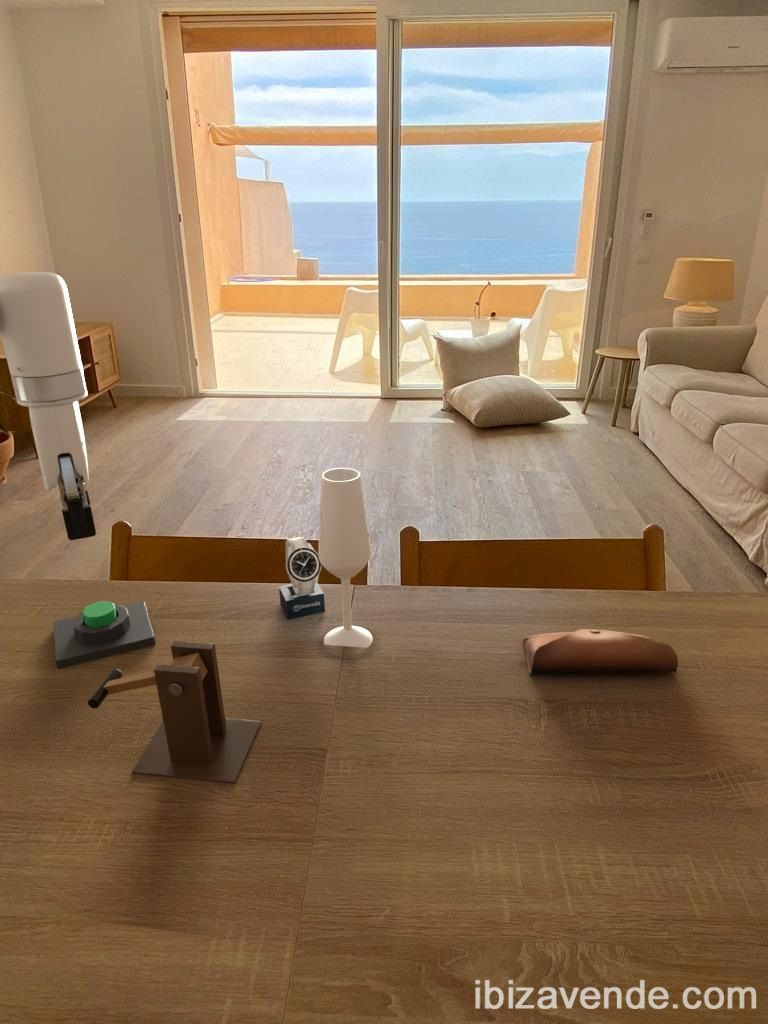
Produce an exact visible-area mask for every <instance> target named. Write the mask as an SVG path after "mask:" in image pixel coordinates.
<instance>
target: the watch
mask: <svg viewBox="0 0 768 1024" xmlns="http://www.w3.org/2000/svg"><path fill="white" fill-rule="evenodd" d="M284 557H285V569H286V574H287V575H288V579H289V581H290V583H289V584H284V585H280V586H278V591H279V592H278V593H279V604H280V607H281V609H282V611H283V613H284V615H285V618H286V619H287V620H288V621H289V620H294V619H298V618H302V617H306V616H312V615H316V614H320V613H325V612H326V607H325V605H326V604H325V592H323V589H322V588H321V586H320V585H319V583H318V582H319V577H320V573H321V571H322V564H321V562H320V561H319V558H318V551H316V550H315V549H314V547H313V546H312V544H311V543H310V542H309V543H308V541H307V540H306V538H305V537H304V536H300V537H294V538H287V539H286V540H285V555H284Z"/></svg>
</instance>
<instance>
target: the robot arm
mask: <svg viewBox="0 0 768 1024" xmlns="http://www.w3.org/2000/svg"><path fill="white" fill-rule="evenodd" d="M70 301H71V300H70V297H69V291H68V287H67V284H66V282H65V280H64V279H63V278H62V277H61V276H60V275H58V274H57V273H54V272H49V271H23V272H21V271H19V272H11V273H10V272H9V273H4V274H0V339H1V341H2V344H3V348H4V353H5V357H6V362H7V365H8V370H9V373H10V378H11V382H12V387H13V390H14V395H15V399H16V403H17V405H19V406H22V407H27V408H28V412H29V419H30V425H31V430H32V436H33V440H34V444H35V448H36V453H37V457H38V462H39V467H40V471H41V475H42V480H43V485H44V488H45V489H46V490H47V491H52V489H54V488H57V486H58V490H59V497H60V501H61V505H62V509H61V513H62V519H63V522H64V526H65V531H66V535H67V540H69V541H76V540H82V539H86V538H91V537H95V536H96V535H97V529H96V525H95V520H94V515H93V511H92V506H91V501H90V496H89V493H88V492H89V491H88V489H86V486H85V485H87V484H88V483H89V481H90V477H89V463H88V462H89V461H88V453H87V445H86V438H85V432H84V427H83V426H84V425H83V421H82V416H81V411H80V405H79V401H81V400H84V399H86V398H87V397H88V395H89V393H88V390H87V389H88V388H87V383H86V380H85V375H84V374H85V373H84V369H83V362H82V358H81V353H80V348H79V344H78V338H77V334H76V328H75V322H74V318H73V312H72V307H71V302H70Z"/></svg>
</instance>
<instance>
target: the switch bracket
mask: <svg viewBox="0 0 768 1024" xmlns="http://www.w3.org/2000/svg"><path fill="white" fill-rule="evenodd" d="M170 649H171V656H172V661H173V660H174V659H175V658H177V657H181V656H186V655H191V654H195V653H199V655H200V657H201V659H202V661H203V663H204V665H205V667H206V669H207V670H208V672H207V674H206V675H205V677H204V679H203V680H202V678H201V671H200V668H199V667H186V666H173V665H171V664H159V663H158V664H157V665H156V667H155V668H153V671H154V674H155V679H156V684H157V685H156V690H157V695H158V700H159V705H160V711H161V716H162V722H161V724H160V726H159V727H158V730H157V731H156V732H155V734H154V736H153V738H152V739H151V740H150V742H149V743H148V746H147V747H146V748H145V750H144V751H143V753H142V755H141V757H140V758H139V760H138V762H137V763H136V765H135V766H134V767H133V769H132V771H131V773H132V774H134V775H143V776H153V777H163V778H173V779H183V780H191V781H192V780H193V781H203V782H213V783H223V784H236V782H237V780H238V777H239V775H240V773H241V770H242V768H243V766H244V764H245V761H246V759H247V757H248V755H249V752H250V750H251V747H252V745H253V743H254V741H255V738H256V737H257V734H258V732H259V730H260V728H261V725H262V721H261V720H251V719H250V720H249V719H241V718H240V719H237V718H229V717H228V718H226V716H225V709H224V701H223V695H222V694H223V693H222V687H221V681H220V671H219V663H218V658H217V657H218V656H217V651H216V644H215V643H209V642H208V643H207V642H194V641H182V640H181V641H180V640H174V641H173V643H172V644H171V645H170Z"/></svg>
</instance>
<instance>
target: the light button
mask: <svg viewBox="0 0 768 1024" xmlns="http://www.w3.org/2000/svg"><path fill="white" fill-rule="evenodd" d="M114 604H115V603H113V602H111V601H105V600H102V601H101V600H100V601H95V602H93V603H90V604H89V605H87V606H86V607H84V609H83V610H82V612H83V617H84V622H85V625H86V626H87V627H95V628H97V627H101V626H106V625H108V624H110V623H112V622H114V621H115V620H116V618H117V615H116V611H115V606H114Z"/></svg>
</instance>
